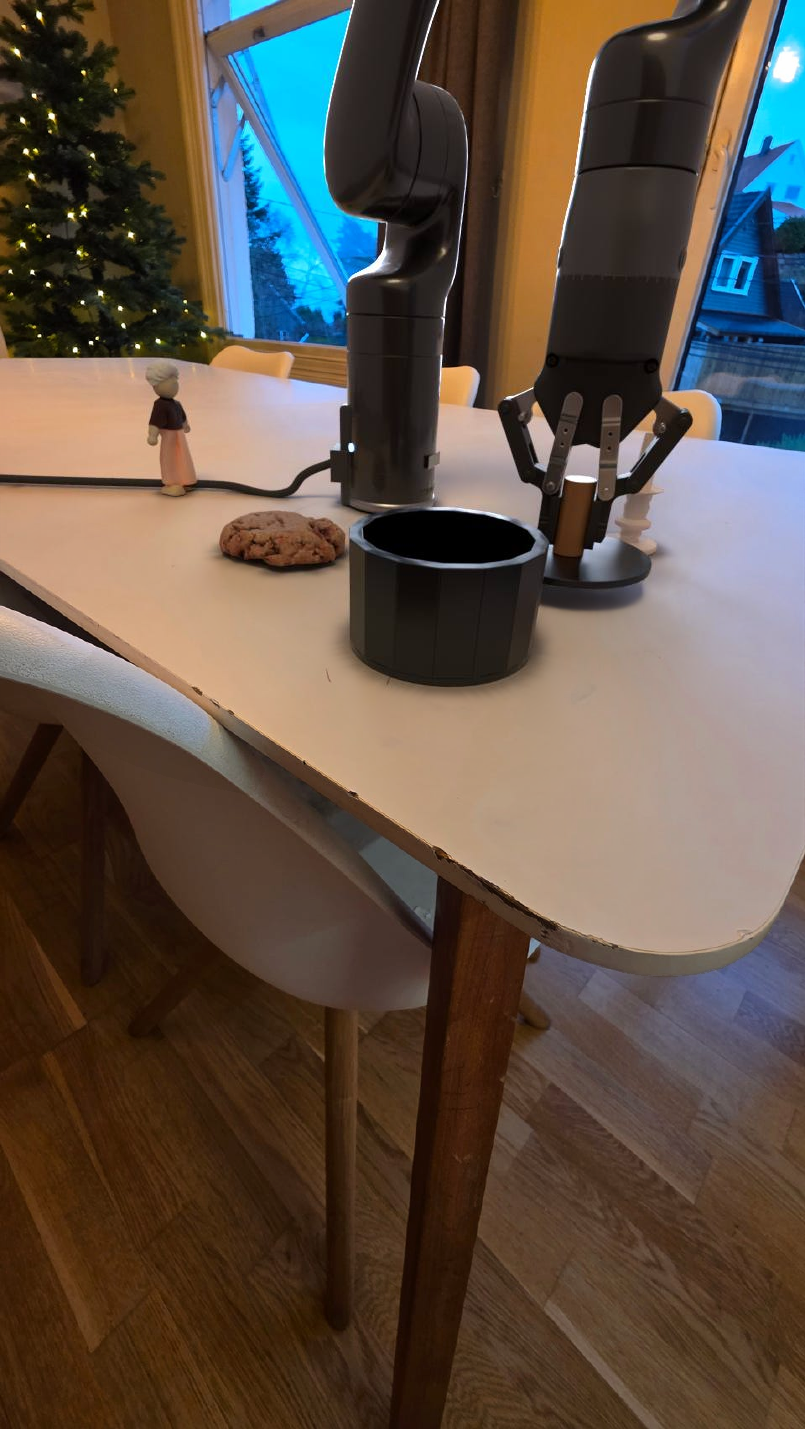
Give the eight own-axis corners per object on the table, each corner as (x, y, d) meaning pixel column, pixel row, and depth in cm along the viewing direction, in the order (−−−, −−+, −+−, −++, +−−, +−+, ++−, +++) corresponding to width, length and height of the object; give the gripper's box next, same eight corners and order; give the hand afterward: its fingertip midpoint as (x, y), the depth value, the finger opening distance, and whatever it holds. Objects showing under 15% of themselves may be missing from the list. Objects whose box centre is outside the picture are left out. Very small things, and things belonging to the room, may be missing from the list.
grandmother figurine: (187, 499, 66) (168, 363, 59) (151, 497, 66) (127, 361, 59) (207, 482, 73) (192, 357, 66) (174, 480, 73) (155, 355, 66)
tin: (320, 664, 37) (315, 549, 33) (385, 595, 47) (388, 498, 43) (512, 702, 34) (531, 582, 31) (541, 621, 44) (559, 520, 40)
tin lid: (469, 582, 46) (478, 488, 42) (501, 535, 56) (510, 455, 52) (648, 608, 43) (675, 509, 39) (647, 553, 53) (668, 470, 49)
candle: (606, 534, 62) (632, 419, 56) (661, 545, 59) (693, 426, 54) (591, 548, 58) (617, 426, 52) (649, 560, 56) (682, 433, 50)
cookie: (227, 534, 57) (224, 500, 55) (344, 535, 58) (343, 502, 57) (211, 573, 49) (205, 535, 47) (347, 573, 50) (346, 536, 48)
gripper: (730, 278, 40) (661, 542, 50) (517, 273, 44) (490, 521, 53) (746, 271, 34) (664, 572, 44) (497, 265, 38) (470, 547, 47)
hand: (568, 543), depth 49 cm, fingers closed on tin lid, 2 cm apart
